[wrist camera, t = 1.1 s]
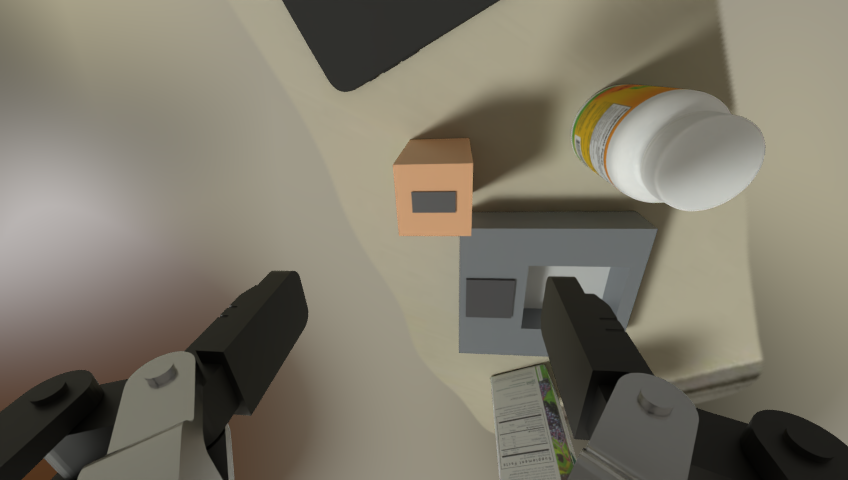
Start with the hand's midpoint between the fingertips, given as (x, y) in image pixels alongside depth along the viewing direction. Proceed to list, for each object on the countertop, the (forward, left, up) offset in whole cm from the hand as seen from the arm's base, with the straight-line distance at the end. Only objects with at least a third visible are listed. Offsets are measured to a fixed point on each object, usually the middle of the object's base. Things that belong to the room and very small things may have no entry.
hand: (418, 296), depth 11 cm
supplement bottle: (-3, +11, -16) cm, 20 cm away
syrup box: (+23, +8, -16) cm, 29 cm away
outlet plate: (+9, +8, -15) cm, 20 cm away
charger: (0, 0, -15) cm, 15 cm away
